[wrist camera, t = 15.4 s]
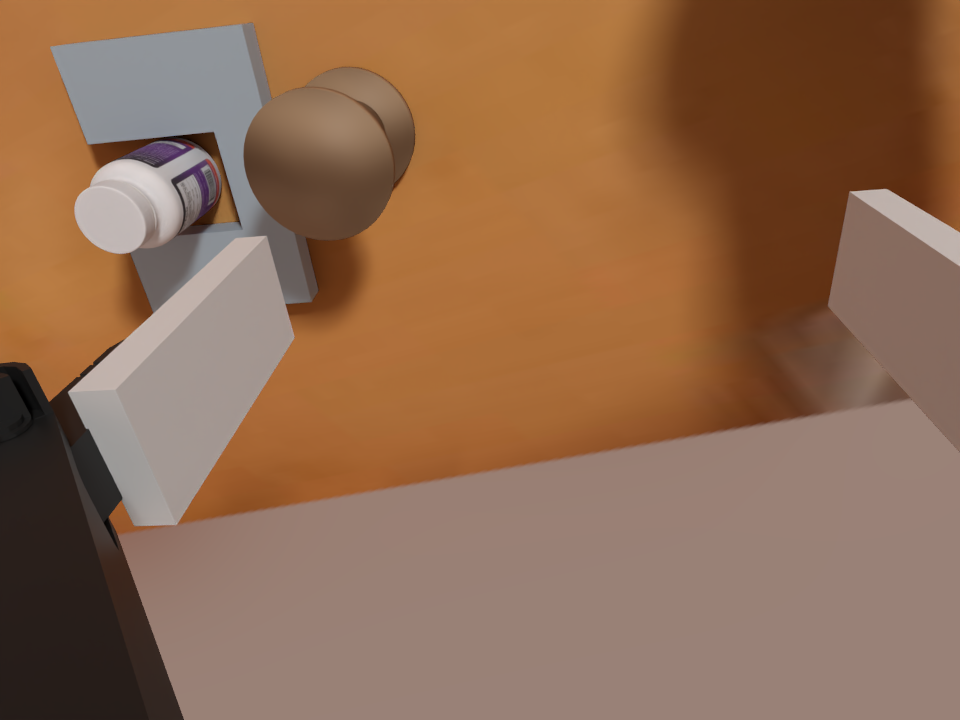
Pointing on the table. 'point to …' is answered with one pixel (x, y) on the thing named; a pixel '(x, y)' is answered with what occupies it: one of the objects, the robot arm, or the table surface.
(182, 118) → the notched board
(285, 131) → the bobbin
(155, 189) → the pill bottle
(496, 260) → the table surface
